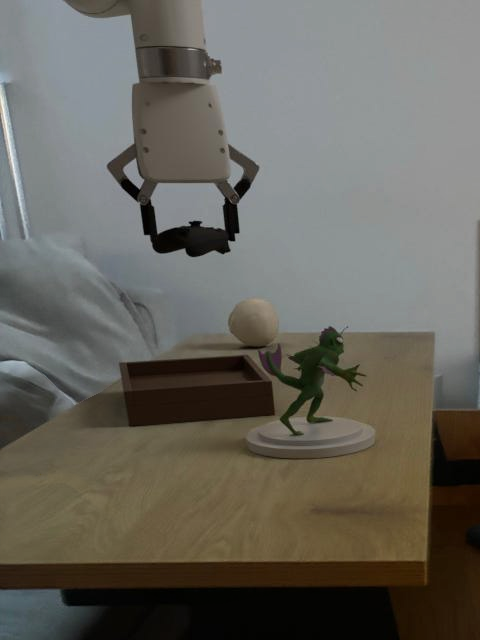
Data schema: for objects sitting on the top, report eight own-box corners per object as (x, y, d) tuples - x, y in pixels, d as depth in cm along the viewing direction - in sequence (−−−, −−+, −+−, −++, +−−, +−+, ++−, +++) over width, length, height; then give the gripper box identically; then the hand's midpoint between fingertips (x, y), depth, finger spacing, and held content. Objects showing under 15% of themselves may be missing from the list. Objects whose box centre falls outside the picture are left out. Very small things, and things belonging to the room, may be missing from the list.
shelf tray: (129, 426, 99) (123, 391, 97) (123, 393, 114) (118, 362, 112) (275, 414, 103) (271, 380, 102) (251, 384, 118) (248, 354, 117)
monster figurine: (399, 444, 91) (394, 330, 87) (281, 465, 85) (269, 343, 81) (337, 421, 100) (330, 316, 96) (226, 438, 94) (212, 327, 89)
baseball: (233, 343, 147) (228, 296, 144) (282, 342, 147) (278, 295, 144) (227, 350, 141) (221, 301, 138) (279, 349, 141) (274, 300, 138)
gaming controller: (145, 245, 117) (173, 205, 117) (178, 276, 121) (205, 238, 121) (185, 249, 110) (215, 206, 111) (219, 282, 114) (247, 241, 115)
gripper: (248, 76, 114) (262, 238, 122) (88, 70, 109) (113, 241, 116) (258, 70, 108) (272, 242, 115) (89, 64, 102) (116, 245, 110)
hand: (193, 240), depth 116 cm, fingers closed on gaming controller, 8 cm apart
